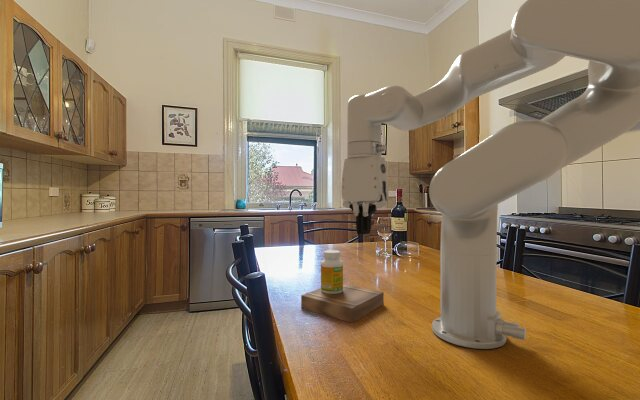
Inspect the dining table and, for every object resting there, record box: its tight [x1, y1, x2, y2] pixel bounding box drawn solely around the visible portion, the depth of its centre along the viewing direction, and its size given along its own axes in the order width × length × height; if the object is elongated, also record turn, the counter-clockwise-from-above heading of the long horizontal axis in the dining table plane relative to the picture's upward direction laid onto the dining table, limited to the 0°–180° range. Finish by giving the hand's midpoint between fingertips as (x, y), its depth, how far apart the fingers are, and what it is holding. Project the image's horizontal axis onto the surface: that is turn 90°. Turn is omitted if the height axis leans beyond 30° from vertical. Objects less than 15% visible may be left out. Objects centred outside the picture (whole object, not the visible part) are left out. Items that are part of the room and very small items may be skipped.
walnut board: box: [300, 283, 385, 323], centre depth 74 cm, size 14×14×3 cm
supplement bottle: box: [320, 249, 344, 294], centre depth 76 cm, size 5×5×10 cm
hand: (363, 233), depth 71 cm, fingers closed
